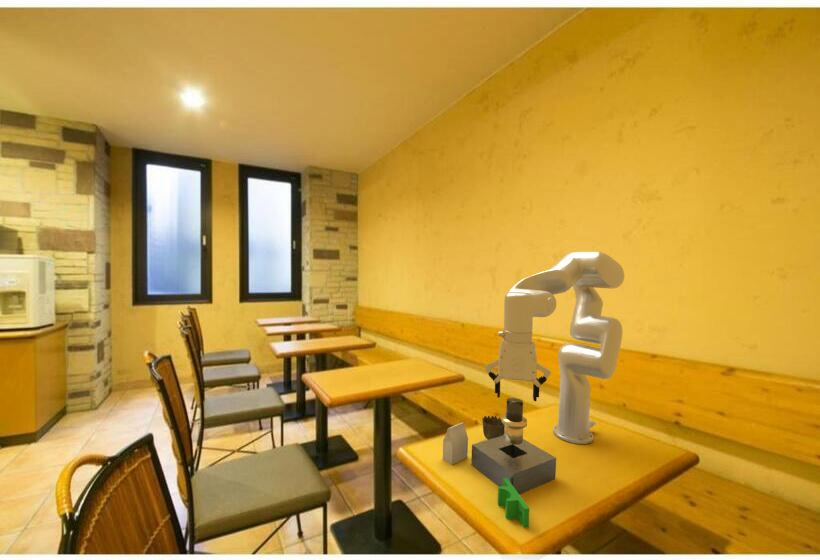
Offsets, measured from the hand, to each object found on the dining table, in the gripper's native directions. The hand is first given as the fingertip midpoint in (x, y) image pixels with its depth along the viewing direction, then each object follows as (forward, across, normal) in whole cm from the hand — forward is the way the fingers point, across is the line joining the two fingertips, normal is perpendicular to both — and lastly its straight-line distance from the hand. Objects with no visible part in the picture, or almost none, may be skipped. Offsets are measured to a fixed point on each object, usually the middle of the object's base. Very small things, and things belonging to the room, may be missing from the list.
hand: (516, 397), depth 99 cm
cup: (+22, -6, +13) cm, 26 cm away
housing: (+21, -1, -1) cm, 21 cm away
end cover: (+12, -1, -1) cm, 12 cm away
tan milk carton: (+21, -17, +1) cm, 27 cm away
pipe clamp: (+21, -2, -18) cm, 27 cm away
